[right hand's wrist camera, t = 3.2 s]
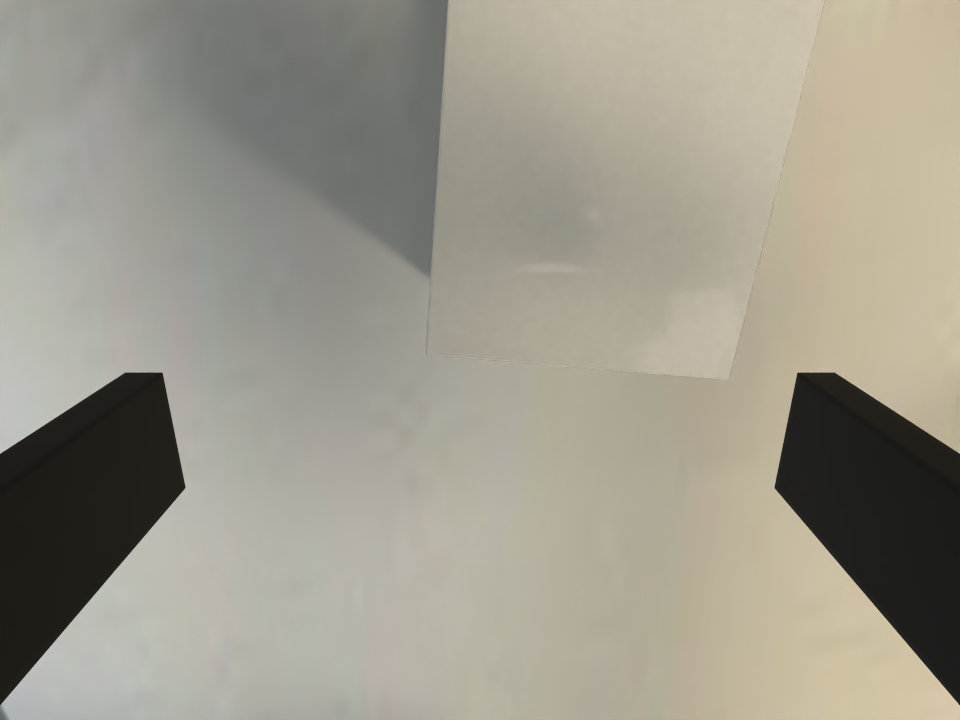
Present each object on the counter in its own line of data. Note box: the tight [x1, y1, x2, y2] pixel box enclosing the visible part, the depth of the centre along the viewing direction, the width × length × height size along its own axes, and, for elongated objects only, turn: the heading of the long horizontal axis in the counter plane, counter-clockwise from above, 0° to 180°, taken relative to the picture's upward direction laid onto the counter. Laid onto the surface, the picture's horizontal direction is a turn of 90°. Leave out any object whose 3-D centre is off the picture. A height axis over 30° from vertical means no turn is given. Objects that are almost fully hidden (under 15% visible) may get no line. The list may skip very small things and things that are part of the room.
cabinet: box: [426, 0, 825, 380], centre depth 22 cm, size 21×11×10 cm, turn 175°
